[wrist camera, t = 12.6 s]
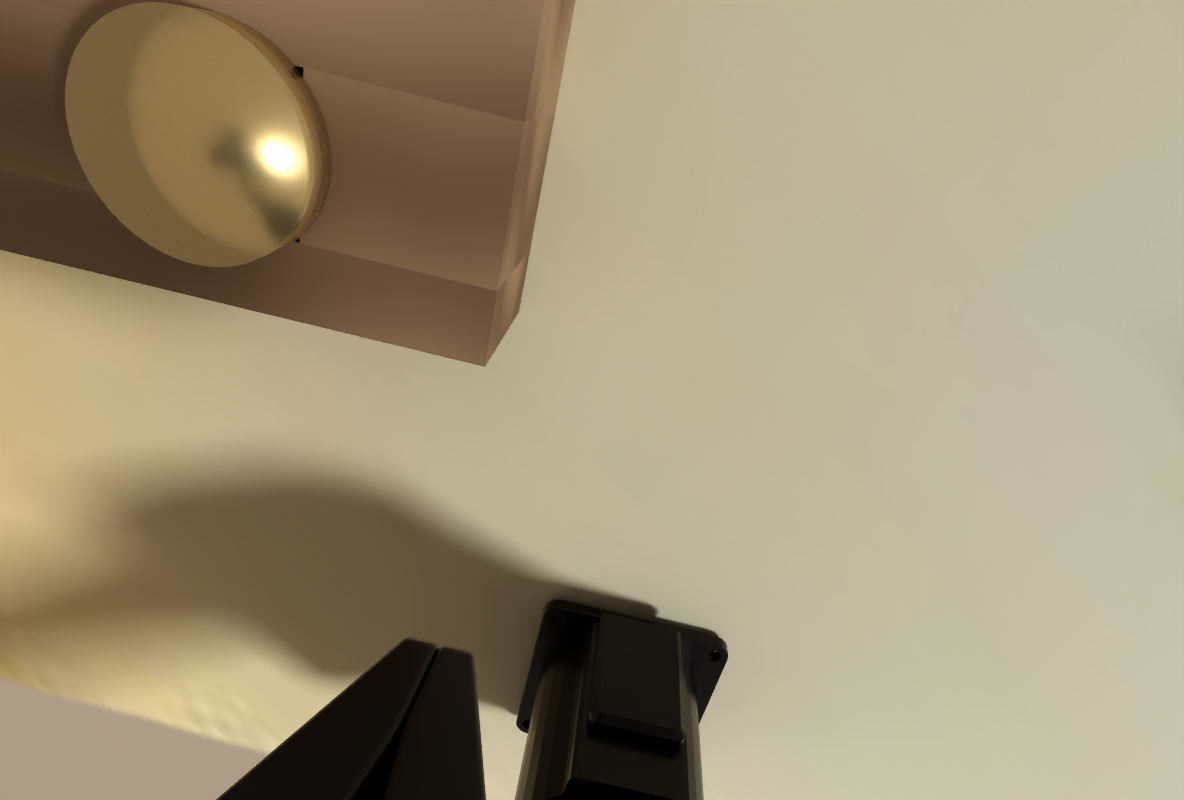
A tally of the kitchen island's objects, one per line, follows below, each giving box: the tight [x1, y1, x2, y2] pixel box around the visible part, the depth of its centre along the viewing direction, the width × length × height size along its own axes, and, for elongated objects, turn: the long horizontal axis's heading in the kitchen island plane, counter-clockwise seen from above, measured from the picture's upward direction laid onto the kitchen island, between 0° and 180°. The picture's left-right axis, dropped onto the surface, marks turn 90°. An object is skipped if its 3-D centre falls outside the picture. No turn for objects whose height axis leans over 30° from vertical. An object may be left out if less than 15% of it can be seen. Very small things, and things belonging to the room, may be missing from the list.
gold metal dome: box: [65, 2, 331, 267], centre depth 14 cm, size 5×5×5 cm
